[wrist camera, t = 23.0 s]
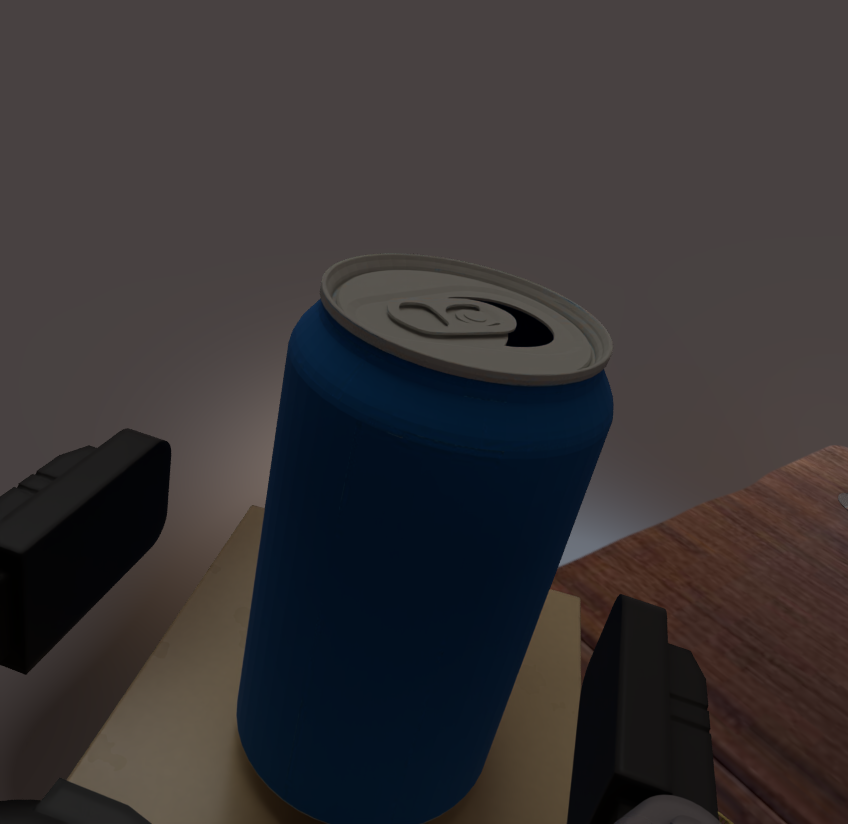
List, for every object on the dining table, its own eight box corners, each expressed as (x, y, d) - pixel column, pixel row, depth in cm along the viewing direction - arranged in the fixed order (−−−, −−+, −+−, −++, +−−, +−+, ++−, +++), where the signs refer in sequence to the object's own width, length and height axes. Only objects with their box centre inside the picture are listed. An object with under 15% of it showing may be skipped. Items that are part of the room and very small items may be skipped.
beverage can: (528, 801, 20) (708, 379, 14) (282, 896, 16) (391, 398, 11) (413, 621, 24) (513, 252, 19) (203, 667, 21) (251, 238, 16)
